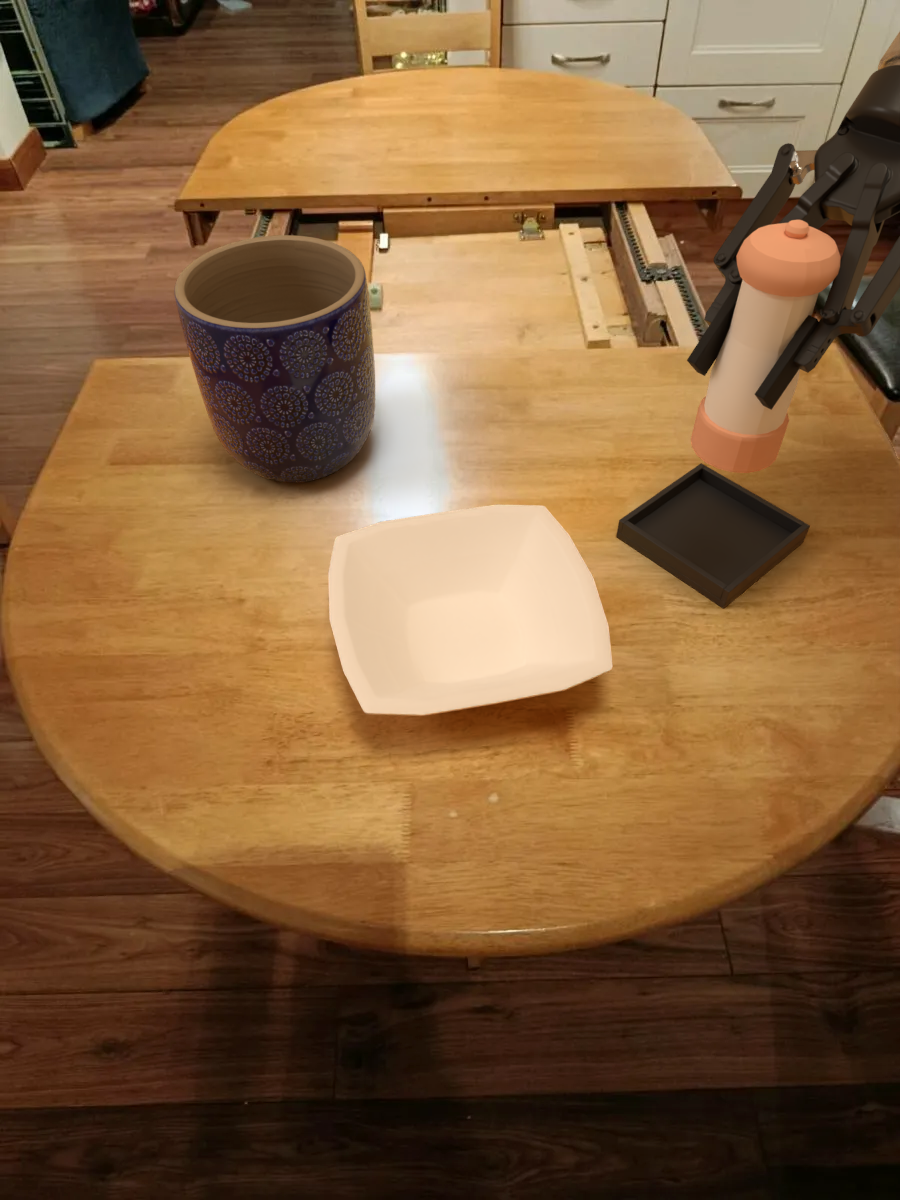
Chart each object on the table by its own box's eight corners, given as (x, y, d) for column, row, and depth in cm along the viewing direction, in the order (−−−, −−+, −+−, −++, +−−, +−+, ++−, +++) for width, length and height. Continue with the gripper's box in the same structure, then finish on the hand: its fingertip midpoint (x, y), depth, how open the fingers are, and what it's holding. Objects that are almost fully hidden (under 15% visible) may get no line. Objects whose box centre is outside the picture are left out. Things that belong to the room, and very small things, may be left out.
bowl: (627, 717, 71) (637, 676, 67) (352, 768, 68) (345, 728, 64) (552, 536, 86) (557, 494, 82) (324, 572, 83) (316, 529, 79)
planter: (350, 516, 89) (326, 339, 73) (190, 488, 92) (135, 313, 77) (402, 414, 100) (391, 243, 85) (259, 392, 104) (223, 225, 88)
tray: (803, 542, 85) (810, 525, 83) (723, 608, 79) (729, 592, 77) (696, 479, 92) (701, 462, 90) (615, 536, 86) (618, 519, 84)
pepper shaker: (789, 437, 73) (867, 213, 59) (760, 484, 69) (837, 256, 55) (709, 410, 76) (765, 191, 61) (677, 454, 72) (728, 230, 57)
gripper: (1052, 161, 58) (844, 453, 63) (815, 95, 68) (650, 354, 73) (1059, 94, 52) (827, 424, 57) (796, 31, 61) (618, 319, 67)
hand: (729, 384), depth 65 cm, fingers closed on pepper shaker, 5 cm apart
